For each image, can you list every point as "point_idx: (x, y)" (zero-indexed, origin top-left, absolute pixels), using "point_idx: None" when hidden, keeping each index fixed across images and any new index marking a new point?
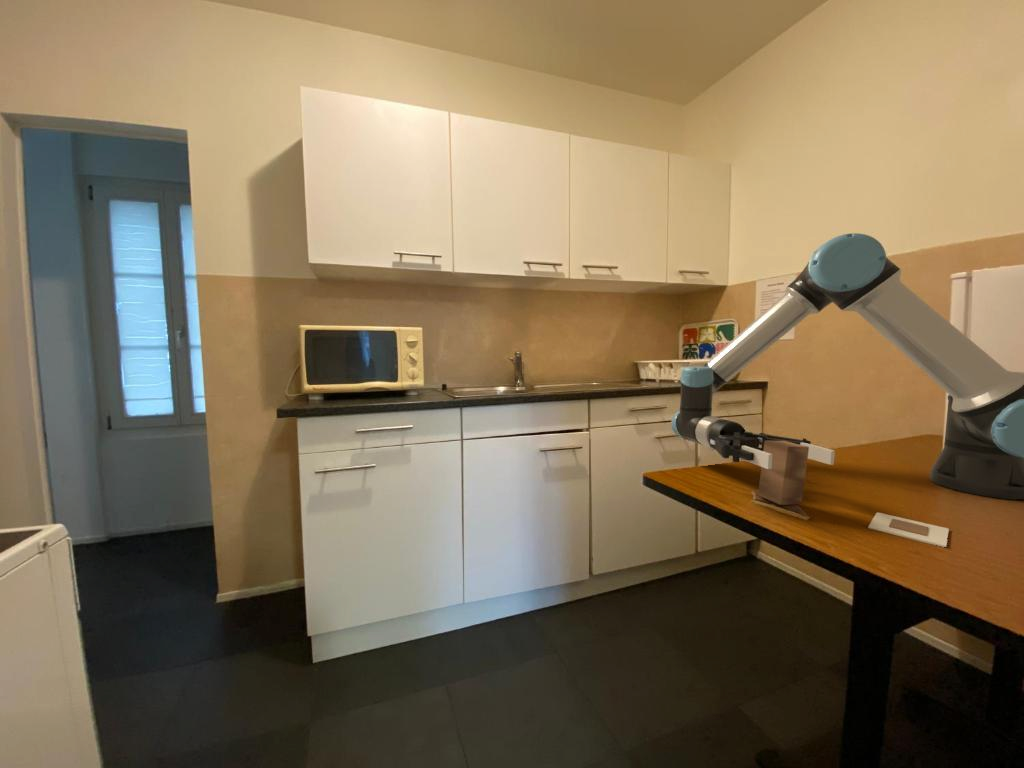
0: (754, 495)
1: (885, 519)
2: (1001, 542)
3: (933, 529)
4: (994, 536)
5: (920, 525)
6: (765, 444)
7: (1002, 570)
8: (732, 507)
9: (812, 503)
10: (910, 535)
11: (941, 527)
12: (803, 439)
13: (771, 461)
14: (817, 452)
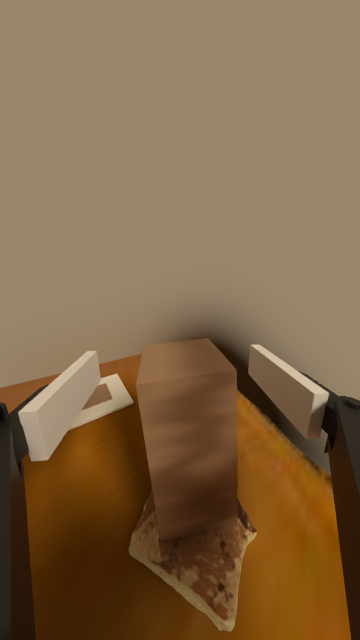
0: (239, 561)
1: (85, 412)
2: (56, 377)
3: None
4: (39, 383)
5: None
6: (233, 379)
7: (125, 360)
8: (314, 502)
9: (96, 503)
10: (118, 385)
11: None
12: (4, 405)
13: (250, 358)
14: (82, 381)
